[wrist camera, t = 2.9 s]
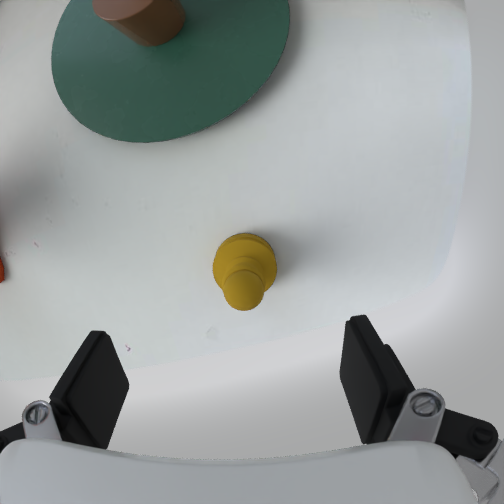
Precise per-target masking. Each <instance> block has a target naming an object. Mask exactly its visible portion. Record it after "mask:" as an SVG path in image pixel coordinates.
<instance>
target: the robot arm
mask: <svg viewBox="0 0 504 504" xmlns="http://www.w3.org/2000/svg"><path fill="white" fill-rule="evenodd" d="M340 380H341V383H342V385H343V388H344V391H345V394H346V397H347V400H348V403H349V406H350V409H351V412H352V415H353V417H354V421H355V424H356V427H357V430H358V433H359V435H360V439H361V442H362V443H363V444H367V445H362V446H356V447H350V448H344V449H339V450H332V451H326V452H319V453H311V454H303V455H295V456H285V457H274V458H260V459H234V460H206V459H205V460H204V459H203V460H202V459H181V458H167V457H156V456H146V455H137V454H130V453H123V452H117V451H111V450H106V449H107V447H108V445H109V442H110V439H111V436H112V433H113V430H114V428H115V425H116V422H117V419H118V416H119V414H120V411H121V408H122V405H123V403H124V400H125V398H126V395H127V392H128V390H129V382H128V379H127V377H126V374H125V372H124V370H123V367H122V365H121V363H120V360H119V358H118V355H117V353H116V350H115V348H114V345H113V343H112V340H111V338H110V336H109V335H108V334H106V332H105V331H91V332H90V333H89V334H88V336H87V337H86V339H85V340H84V342H83V343H82V345H81V346H80V348H79V350H78V351H77V353H76V354H75V356H74V357H73V359H72V360H71V362H70V364H69V365H68V367H67V368H66V370H65V372H64V373H63V375H62V376H61V378H60V380H59V381H58V383H57V385H56V386H55V388H54V390H53V391H52V393H51V395H50V397H49V398H50V399H51V401H50V403H48V402H46V401H42V400H40V401H39V400H38V401H34V402H32V403H30V404H29V405H28V406H27V407H26V408H25V409H24V411H23V414H22V421H23V422H21V423H19V424H16V425H14V426H12V427H9V428H7V429H5V430H3V431H0V504H504V439H503V441H501V440H500V439H498V433H497V430H496V429H495V427H494V426H493V425H492V424H491V423H489V422H486V421H483V420H480V419H477V418H473V417H470V416H467V415H464V414H460V413H457V412H454V411H451V410H448V409H445V401H444V399H443V397H442V396H441V395H440V394H439V393H438V392H436V391H434V390H431V389H426V388H423V389H417V390H416V389H415V388H414V386H413V384H412V382H411V381H410V379H409V377H408V375H407V374H406V372H405V370H404V368H403V367H402V365H401V363H400V362H399V360H398V358H397V357H396V355H395V353H394V352H393V350H392V349H391V347H390V346H389V345H388V344H385V345H384V344H383V342H382V341H381V339H380V338H379V336H378V334H377V332H376V331H375V329H374V327H373V326H372V324H371V322H370V321H369V319H368V318H367V316H366V315H358V316H352V317H351V318H350V320H349V321H346V324H345V334H344V342H343V350H342V358H341V366H340ZM472 489H473V490H474V491H476V493H477V496H478V502H477V499H476V497H475V495H474V493H473V490H472Z"/></svg>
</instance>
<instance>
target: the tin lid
mask: <svg viewBox="0 0 504 504" xmlns="http://www.w3.org/2000/svg"><path fill="white" fill-rule="evenodd" d="M289 23H290V15H289V4H288V0H71V1H70V2H69V4H68V5H67V7H66V9H65V11H64V13H63V15H62V17H61V19H60V21H59V24H58V27H57V30H56V33H55V37H54V41H53V47H52V56H51V60H52V74H53V79H54V83H55V86H56V89H57V92H58V94H59V96H60V98H61V100H62V102H63V104H64V105H65V107H66V108H67V109H68V111H69V112H70V113H71V114H72V115H73V116H74V117H75V118H76V119H77V120H78V121H79V122H80V123H81V124H83V125H84V126H86V127H87V128H89V129H90V130H92V131H94V132H96V133H98V134H100V135H102V136H105V137H109V138H112V139H115V140H120V141H127V142H143V143H149V142H159V141H167V140H172V139H176V138H181V137H184V136H187V135H190V134H193V133H196V132H199V131H201V130H203V129H205V128H208V127H210V126H212V125H214V124H216V123H218V122H219V121H221V120H223V119H224V118H226V117H228V116H229V115H231V114H232V113H233V112H235V111H236V110H237V109H239V108H240V107H241V106H243V105H244V104H245V103H246V102H247V101H248V100H249V99H250V98H251V97H253V96H254V95H255V94H256V93H257V92H258V90H259V89H260V88H261V87H262V86H263V84H264V83H265V82H266V81H267V80H268V78H269V77H270V75H271V74H272V72H273V70H274V69H275V67H276V66H277V64H278V61H279V59H280V57H281V55H282V53H283V50H284V47H285V44H286V40H287V37H288V31H289Z"/></svg>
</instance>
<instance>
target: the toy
mask: <svg viewBox="0 0 504 504" xmlns="http://www.w3.org/2000/svg"><path fill="white" fill-rule="evenodd" d="M3 280H4V267H3V264H2V261H1V258H0V283H1V282H2V281H3Z"/></svg>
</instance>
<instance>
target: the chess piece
mask: <svg viewBox="0 0 504 504" xmlns="http://www.w3.org/2000/svg"><path fill="white" fill-rule="evenodd" d="M276 273H277V265H276V261H275V256H274V253H273V250H272V248H271V247H270V245H269V244H268V243H267V242H266V241H265V240H264V239H262V238H261V237H259V236H257V235H253V234H247V233H242V234H237V235H233V236H231V237H229V238H228V239H226V240H225V241H224V242H223V243H222V244H221V245H220V247H219V248H218V250H217V253H216V256H215V259H214V262H213V275H214V278H215V281H216V282H217V284H218V285H219V287H220V288H221V289H222V290H223V293H224V297H225V299H226V301H227V302H228V304H229V305H230V306H231V307H233V308H235V309H237V310H241V311H247V310H251V309H253V308H255V307H256V306H257V305H258V304H259V303H260V302H261V300H262V298H263V295H264V292H265V291H267V290H268V289H269V288H270V287H271V285H272V284H273V282H274V280H275V277H276Z"/></svg>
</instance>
